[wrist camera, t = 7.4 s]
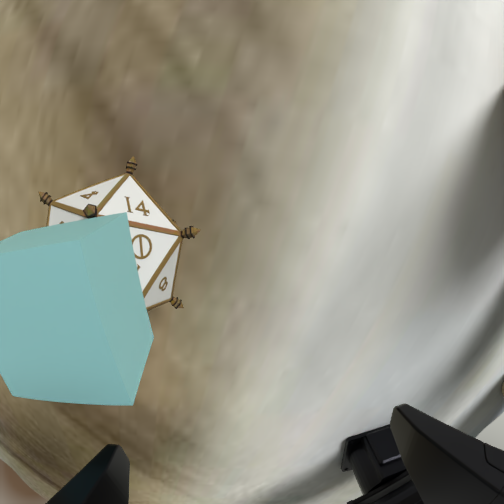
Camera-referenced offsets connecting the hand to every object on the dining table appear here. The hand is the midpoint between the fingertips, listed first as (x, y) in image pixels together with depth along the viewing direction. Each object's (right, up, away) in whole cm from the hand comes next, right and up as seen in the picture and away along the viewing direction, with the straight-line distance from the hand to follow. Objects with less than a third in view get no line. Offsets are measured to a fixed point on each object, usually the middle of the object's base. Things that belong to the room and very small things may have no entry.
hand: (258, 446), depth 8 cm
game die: (-8, +7, +10) cm, 15 cm away
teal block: (-7, +5, +3) cm, 9 cm away
